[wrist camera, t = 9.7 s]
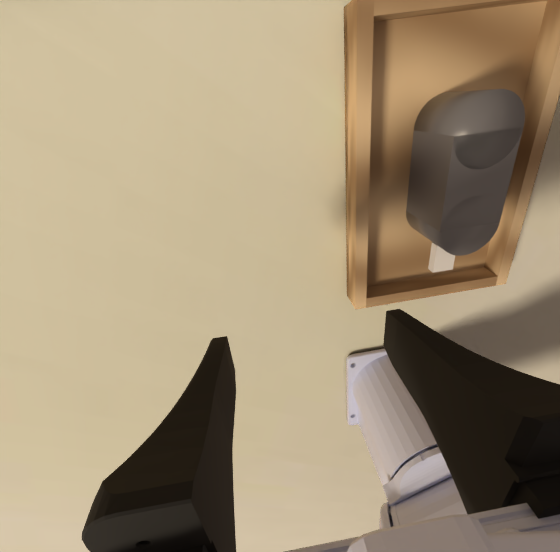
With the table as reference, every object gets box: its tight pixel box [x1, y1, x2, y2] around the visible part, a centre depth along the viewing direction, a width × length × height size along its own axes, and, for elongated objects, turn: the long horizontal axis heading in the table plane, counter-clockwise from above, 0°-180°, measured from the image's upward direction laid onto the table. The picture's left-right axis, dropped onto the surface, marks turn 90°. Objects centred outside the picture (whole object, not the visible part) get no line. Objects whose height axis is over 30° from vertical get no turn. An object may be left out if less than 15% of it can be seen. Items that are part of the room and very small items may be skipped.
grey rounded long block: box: [406, 89, 525, 273], centre depth 19 cm, size 11×4×4 cm, turn 6°
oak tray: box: [344, 0, 560, 309], centre depth 20 cm, size 18×12×2 cm, turn 7°
